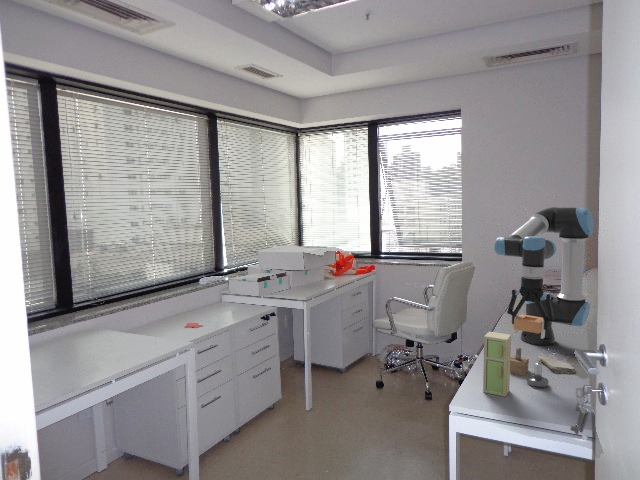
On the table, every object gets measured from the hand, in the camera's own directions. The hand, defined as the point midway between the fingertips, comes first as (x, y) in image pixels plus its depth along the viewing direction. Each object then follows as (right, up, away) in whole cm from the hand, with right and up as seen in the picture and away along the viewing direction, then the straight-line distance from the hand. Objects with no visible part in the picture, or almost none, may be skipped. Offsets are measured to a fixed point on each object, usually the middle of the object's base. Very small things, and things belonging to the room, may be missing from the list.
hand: (529, 335), depth 177 cm
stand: (0, -16, +9) cm, 19 cm away
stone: (+17, -17, +13) cm, 27 cm away
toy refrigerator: (-17, -19, -10) cm, 27 cm away
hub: (+2, -18, -4) cm, 18 cm away
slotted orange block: (0, +3, 0) cm, 3 cm away
